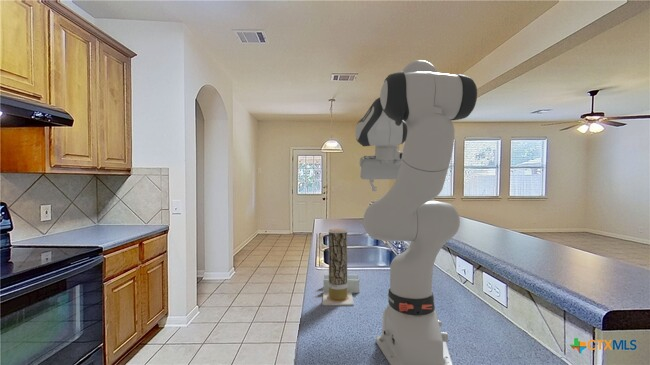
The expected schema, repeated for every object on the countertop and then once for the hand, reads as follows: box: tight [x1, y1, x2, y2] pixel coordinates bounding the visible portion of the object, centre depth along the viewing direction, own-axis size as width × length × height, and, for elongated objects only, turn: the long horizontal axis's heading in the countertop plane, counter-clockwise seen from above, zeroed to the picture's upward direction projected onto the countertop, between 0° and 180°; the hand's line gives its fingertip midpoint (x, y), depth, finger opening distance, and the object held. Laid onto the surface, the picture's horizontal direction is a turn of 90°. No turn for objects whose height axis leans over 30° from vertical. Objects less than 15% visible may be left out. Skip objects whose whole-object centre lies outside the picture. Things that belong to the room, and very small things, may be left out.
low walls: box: [323, 274, 360, 294], centre depth 128 cm, size 7×14×5 cm, turn 88°
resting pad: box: [322, 291, 355, 307], centre depth 118 cm, size 11×11×1 cm
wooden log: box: [328, 228, 348, 300], centre depth 118 cm, size 7×7×25 cm
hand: (386, 191), depth 124 cm, fingers open, 8 cm apart
